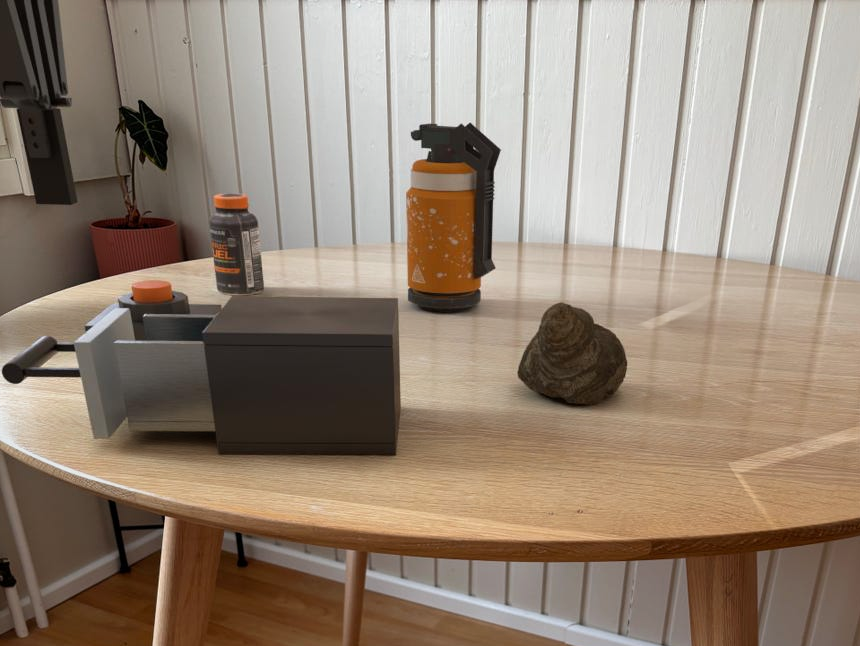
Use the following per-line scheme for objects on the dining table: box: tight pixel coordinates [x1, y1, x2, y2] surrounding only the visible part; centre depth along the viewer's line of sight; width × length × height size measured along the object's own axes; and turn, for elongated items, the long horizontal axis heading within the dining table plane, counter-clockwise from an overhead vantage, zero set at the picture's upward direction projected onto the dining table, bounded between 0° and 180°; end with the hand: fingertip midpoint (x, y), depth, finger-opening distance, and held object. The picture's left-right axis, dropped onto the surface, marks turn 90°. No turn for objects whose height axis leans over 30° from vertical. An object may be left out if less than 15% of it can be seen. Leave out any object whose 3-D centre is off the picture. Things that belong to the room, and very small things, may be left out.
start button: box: [130, 279, 173, 302], centre depth 99 cm, size 4×4×2 cm
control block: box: [84, 290, 223, 341], centre depth 101 cm, size 12×10×4 cm
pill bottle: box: [208, 193, 265, 296], centre depth 117 cm, size 6×6×11 cm
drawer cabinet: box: [202, 295, 402, 456], centre depth 76 cm, size 14×12×9 cm
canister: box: [405, 122, 502, 313], centre depth 110 cm, size 9×11×20 cm
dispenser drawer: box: [1, 308, 216, 440], centre depth 75 cm, size 19×11×7 cm, turn 92°
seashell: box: [517, 302, 628, 406], centre depth 85 cm, size 11×12×10 cm
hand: (57, 202), depth 74 cm, fingers closed
